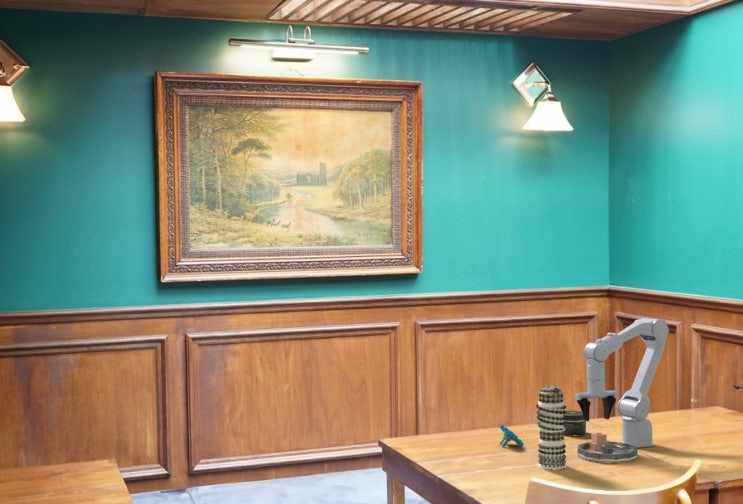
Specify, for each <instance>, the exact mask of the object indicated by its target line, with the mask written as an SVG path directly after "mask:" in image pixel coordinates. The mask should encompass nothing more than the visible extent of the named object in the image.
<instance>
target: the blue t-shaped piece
mask: <svg viewBox="0 0 743 504" xmlns="http://www.w3.org/2000/svg"><path fill="white" fill-rule="evenodd" d="M499 428H500V430H501V432H502V433H503V434H502V435H503V436H502V440H500V442H499V444H500V445H501V447H502V448H505V447H506V445H507V444H508V443H509V442H511V441H512V442H515V444H516V445H519V446H520V447H523V446H524V445H525V443H524V442H523V440H521V438H518V437H519V436H518V435H517V434H515V433H514V432H513V431H512V430H511V429H508V427H507V426H504V425H503V424H501V425H500V426H499Z"/></svg>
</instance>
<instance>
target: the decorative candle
mask: <svg viewBox="0 0 743 504" xmlns="http://www.w3.org/2000/svg"><path fill="white" fill-rule="evenodd" d="M537 393H538V401H537V403H538V404H536V405H535V407H536V409H537V411H536V415H537V416H536V418H537V420H538V422H537V424H536V425H537V430H538V431H539V437H538V443H539V444H537V447H538V449H537V450H538V453H539V454H538V455H537V458H538V468H539V469H541V468H542V469H541V470H545V469H548V470H547V471H554V470H553V469H562V470H564V469H563V468H565V467H566V468H567V465H566V464H567V461H566V458H567V455H566V449H565V448H566V447H567V445H566V444H565V442H566V441H565V440H566V439H565V435H564V431H565V428H564V427H563V425H566V423H565V422H564V420H566V417H563V414H565V413H566V411H567V410H566V409H567V406H566V405H565V401H564V393H565V391H563V390H562V388H561V387H560V386H559V385H558V386H556V385H545V386H543V385H542V387H541V388H540V390H537ZM566 468H565V469H566ZM549 469H550V470H549ZM551 469H552V470H551Z"/></svg>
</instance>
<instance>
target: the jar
mask: <svg viewBox="0 0 743 504" xmlns="http://www.w3.org/2000/svg"><path fill="white" fill-rule="evenodd" d="M565 411H566V413H565V414H563V417H566V420H564V422H565V423H566V425H563V427H564V428H565V431H564V436H565V435H572V436H571V437H574V436H573V435H582V436H584V435H585V434H586V431H587V421H584V417H583V414H582V411H581V410H565ZM583 434H584V435H583Z"/></svg>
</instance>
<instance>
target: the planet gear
mask: <svg viewBox="0 0 743 504" xmlns="http://www.w3.org/2000/svg"><path fill="white" fill-rule="evenodd" d="M590 434H591V435H590V437H591V438H590V439H591V441H590V442H591V443H590V449H593V450H598V451H602V444H605V443H607V441H608V439H607V437H608V436H607V434H606V433H605V432H592V433H590Z"/></svg>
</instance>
